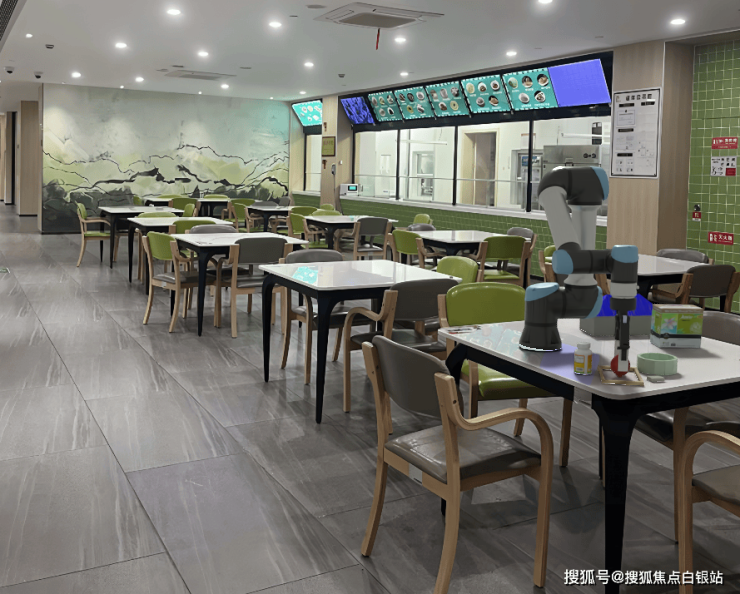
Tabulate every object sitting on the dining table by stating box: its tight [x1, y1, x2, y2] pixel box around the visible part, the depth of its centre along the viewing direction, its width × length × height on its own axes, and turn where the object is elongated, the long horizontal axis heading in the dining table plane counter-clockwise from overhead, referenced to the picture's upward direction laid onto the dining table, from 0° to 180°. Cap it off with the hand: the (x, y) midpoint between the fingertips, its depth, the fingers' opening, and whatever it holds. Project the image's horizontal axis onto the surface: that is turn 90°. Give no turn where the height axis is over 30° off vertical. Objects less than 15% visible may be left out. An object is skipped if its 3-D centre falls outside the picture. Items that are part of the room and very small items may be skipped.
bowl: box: [636, 352, 679, 376], centre depth 228 cm, size 12×12×4 cm
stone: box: [646, 375, 666, 383], centre depth 217 cm, size 4×3×2 cm
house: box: [578, 293, 653, 337], centre depth 290 cm, size 25×16×16 cm, turn 94°
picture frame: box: [597, 365, 645, 387], centre depth 221 cm, size 12×19×1 cm, turn 166°
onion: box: [609, 353, 631, 378], centre depth 220 cm, size 6×6×8 cm
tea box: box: [649, 303, 705, 349], centre depth 264 cm, size 15×10×15 cm, turn 88°
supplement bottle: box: [573, 341, 593, 375], centre depth 225 cm, size 5×5×10 cm
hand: (620, 366), depth 220 cm, fingers open, 13 cm apart
